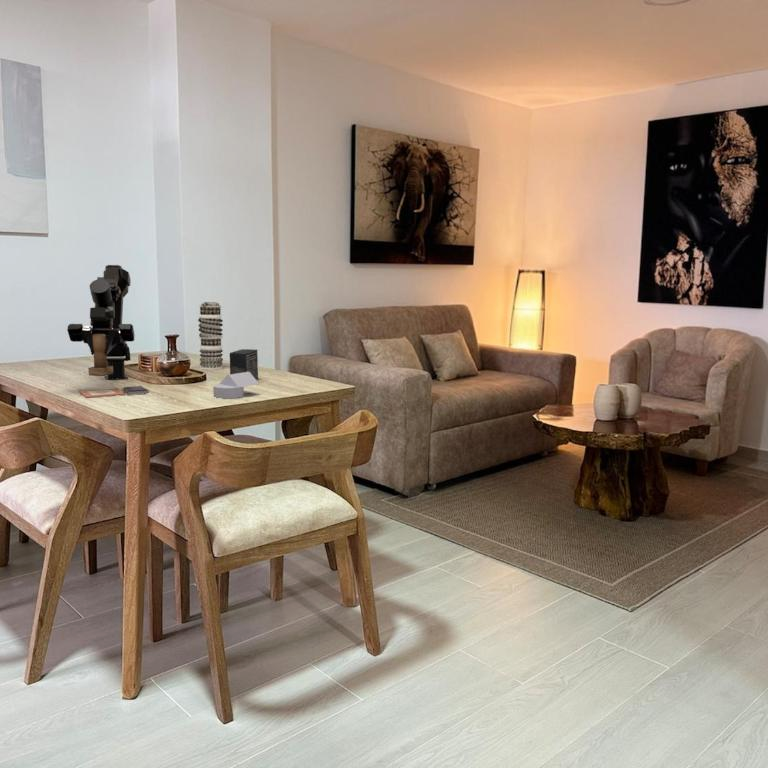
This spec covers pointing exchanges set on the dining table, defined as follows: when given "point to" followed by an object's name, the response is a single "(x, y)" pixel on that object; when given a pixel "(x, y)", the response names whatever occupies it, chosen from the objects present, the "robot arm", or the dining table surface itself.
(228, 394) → the wedge on round base
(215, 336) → the decorative candle
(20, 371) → the dining table surface
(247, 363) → the small box
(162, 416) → the dining table surface
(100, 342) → the stamp
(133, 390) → the ink pad
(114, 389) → the print card
